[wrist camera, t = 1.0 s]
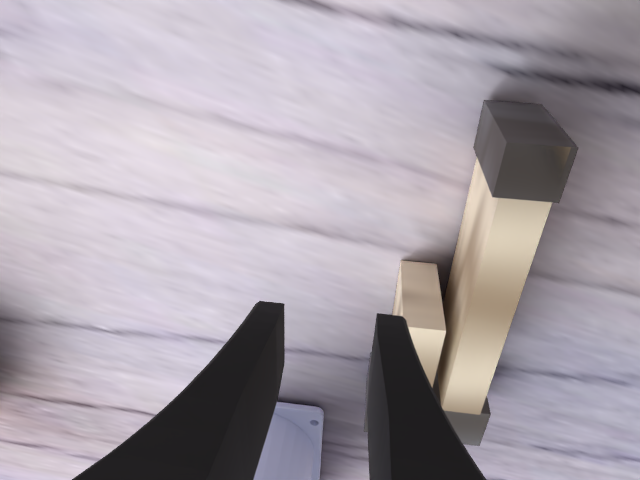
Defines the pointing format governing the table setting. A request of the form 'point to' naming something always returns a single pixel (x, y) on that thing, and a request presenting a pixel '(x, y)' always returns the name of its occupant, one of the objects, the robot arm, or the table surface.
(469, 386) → the bar
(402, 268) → the tong pivot
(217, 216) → the table surface
